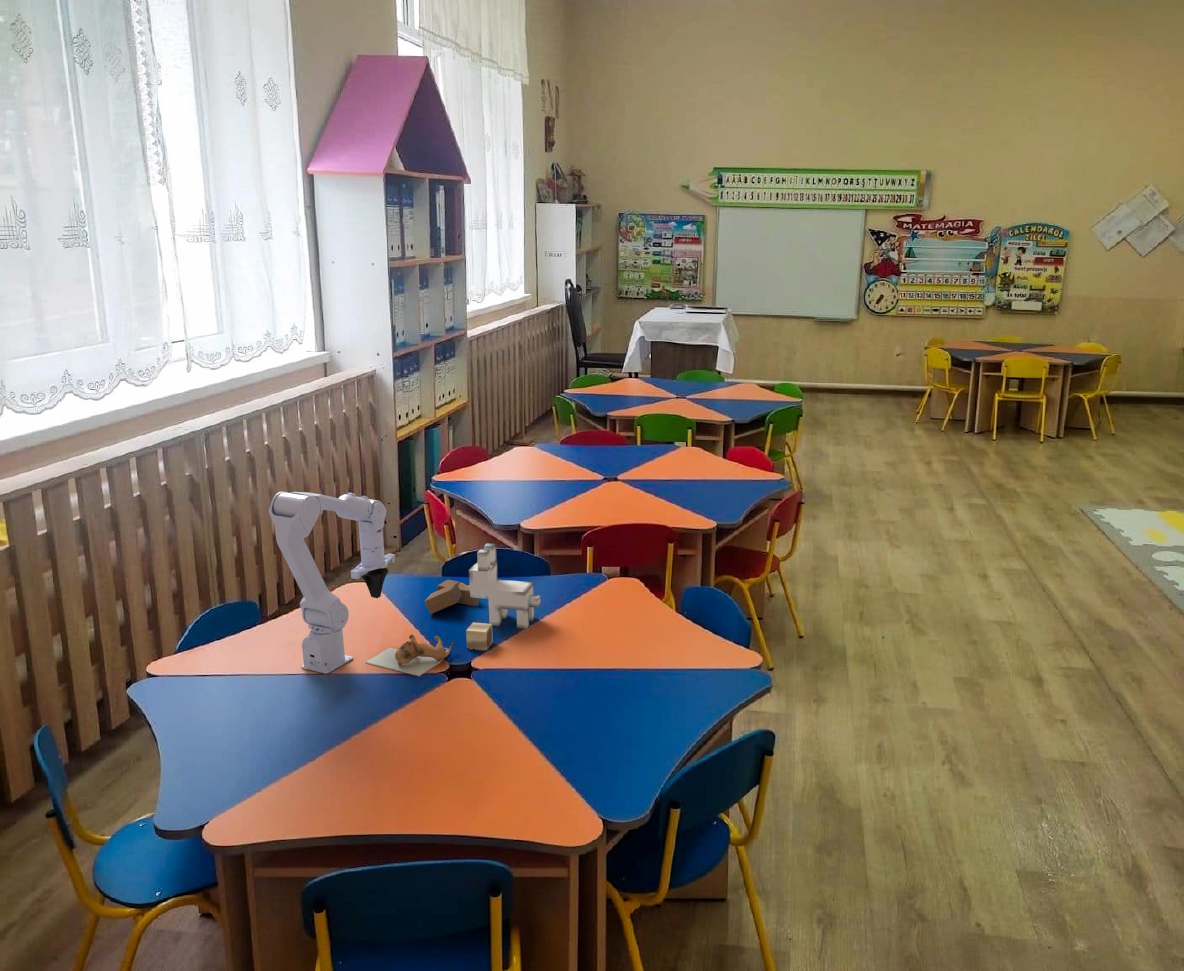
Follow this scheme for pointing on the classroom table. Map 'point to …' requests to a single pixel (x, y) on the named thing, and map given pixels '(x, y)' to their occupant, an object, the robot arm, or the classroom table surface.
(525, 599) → the toy llama
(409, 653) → the lion figurine
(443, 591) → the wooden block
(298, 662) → the classroom table surface
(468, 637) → the tan cube
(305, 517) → the robot arm
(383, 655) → the felt mat
